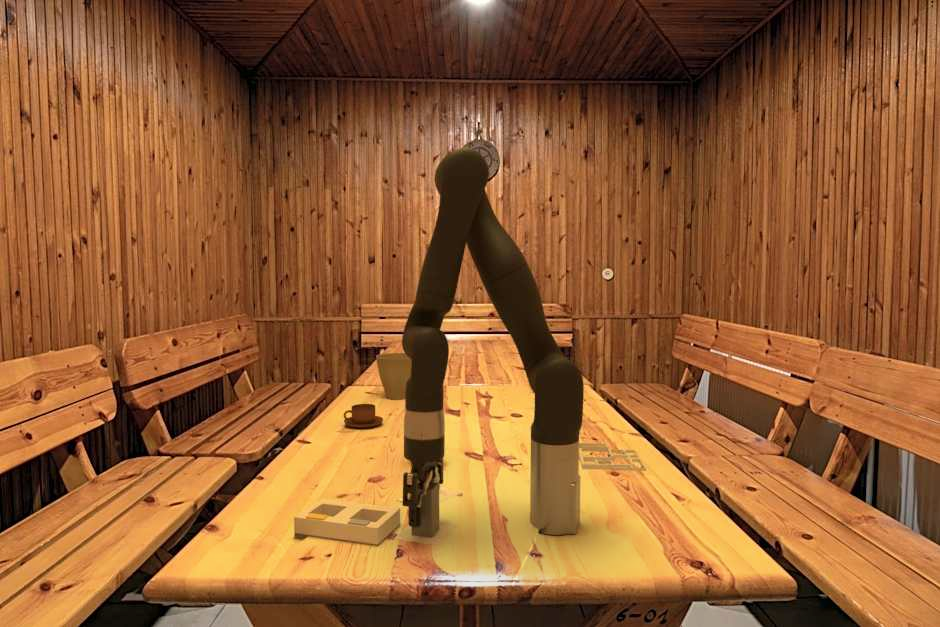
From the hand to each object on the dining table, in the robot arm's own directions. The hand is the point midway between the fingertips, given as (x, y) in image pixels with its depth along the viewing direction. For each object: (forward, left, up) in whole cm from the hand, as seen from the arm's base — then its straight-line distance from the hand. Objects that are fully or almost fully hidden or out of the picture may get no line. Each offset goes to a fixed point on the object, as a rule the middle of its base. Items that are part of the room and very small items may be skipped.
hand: (423, 517), depth 124 cm
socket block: (+14, +3, -4) cm, 15 cm away
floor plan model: (-24, -59, -4) cm, 63 cm away
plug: (0, 0, -3) cm, 3 cm away
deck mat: (0, 0, -4) cm, 4 cm away
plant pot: (+56, -113, -4) cm, 126 cm away
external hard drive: (+6, -18, -4) cm, 19 cm away
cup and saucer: (+49, -72, -4) cm, 87 cm away
